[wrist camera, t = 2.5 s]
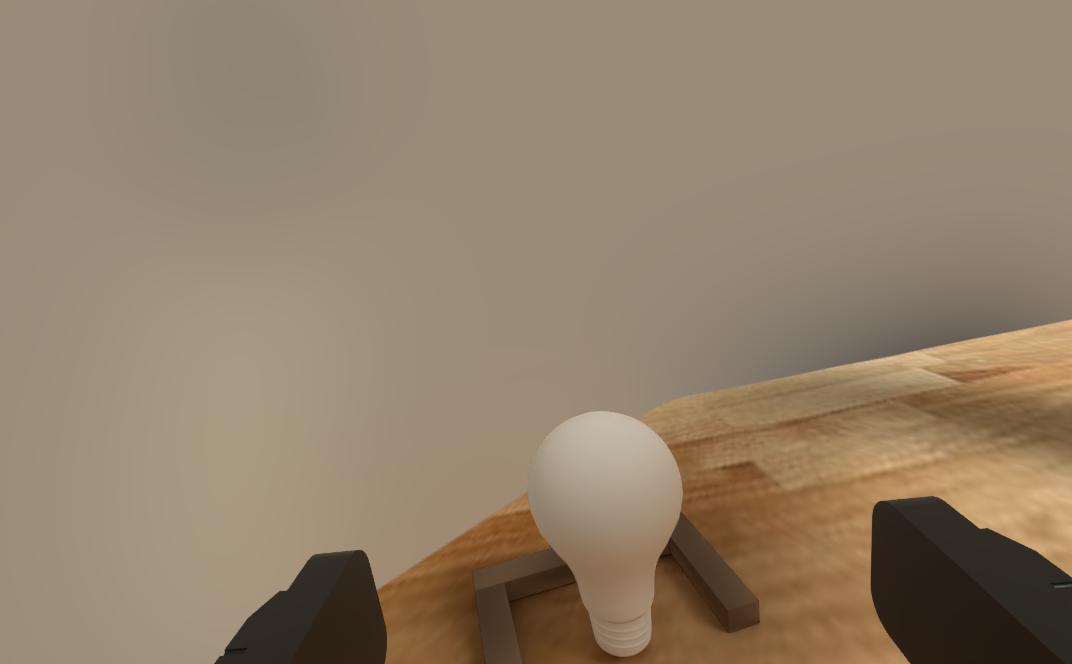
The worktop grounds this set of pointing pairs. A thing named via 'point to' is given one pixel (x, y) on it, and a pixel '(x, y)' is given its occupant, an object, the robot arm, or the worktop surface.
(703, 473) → the worktop surface
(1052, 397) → the worktop surface
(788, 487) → the worktop surface
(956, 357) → the worktop surface
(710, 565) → the walnut holder
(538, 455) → the lightbulb
